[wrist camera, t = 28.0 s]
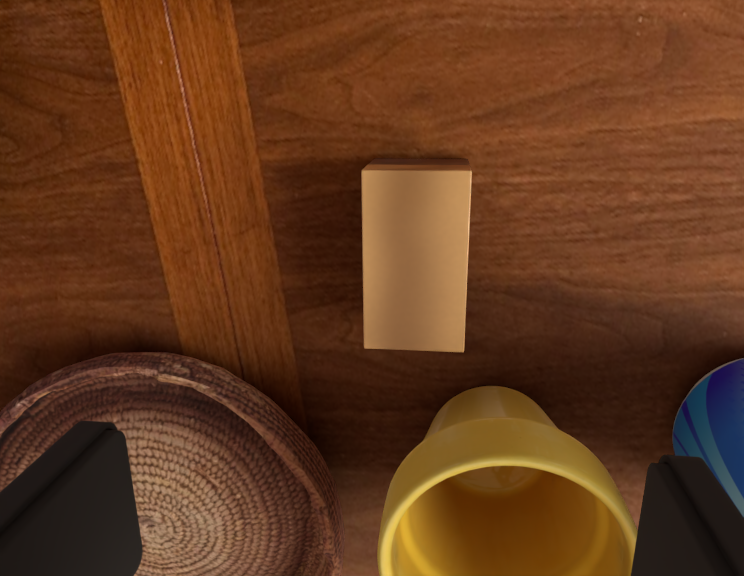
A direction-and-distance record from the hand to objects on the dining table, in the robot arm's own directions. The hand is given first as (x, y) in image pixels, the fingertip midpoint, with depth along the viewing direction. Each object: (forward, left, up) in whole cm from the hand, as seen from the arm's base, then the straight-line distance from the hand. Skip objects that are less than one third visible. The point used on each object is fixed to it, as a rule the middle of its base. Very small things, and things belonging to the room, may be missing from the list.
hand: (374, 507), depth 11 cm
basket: (+15, +16, -20) cm, 30 cm away
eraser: (0, 0, -20) cm, 20 cm away
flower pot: (-4, +11, -20) cm, 24 cm away
